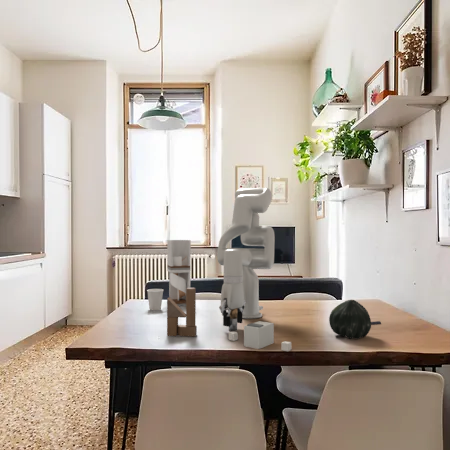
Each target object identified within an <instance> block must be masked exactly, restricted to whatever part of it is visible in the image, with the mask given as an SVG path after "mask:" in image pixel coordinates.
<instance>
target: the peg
mask: <svg viewBox="0 0 450 450" xmlns="http://www.w3.org/2000/svg"><path fill="white" fill-rule="evenodd" d="M229 316H230V317H231V326H230V327H228V331H229V332H237V331H238V323H237V318H238V308H236V309H232V310H231V312H230V315H229Z"/></svg>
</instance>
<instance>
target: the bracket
mask: <svg viewBox="0 0 450 450" xmlns="http://www.w3.org/2000/svg"><path fill="white" fill-rule="evenodd" d="M373 325H374V326H375V325H382V321H381V320H378V321H371V326H373Z"/></svg>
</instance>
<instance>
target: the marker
mask: <svg viewBox="0 0 450 450" xmlns="http://www.w3.org/2000/svg"><path fill="white" fill-rule="evenodd" d="M280 343H281V345H280V346H281V349H280V350H281V351H284V352H290V351H292V341H286V340H285V341H282V342H280Z"/></svg>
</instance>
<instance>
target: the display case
mask: <svg viewBox="0 0 450 450" xmlns="http://www.w3.org/2000/svg"><path fill="white" fill-rule="evenodd" d="M191 242H192V241H191V240H190V239H167V244H166V245H167V246H166V247H167V248H166V249H167V251H166V253H167V254H166V255H167V256H166V257H167V259H166V266H167V267H166V271H167V272H168V274H169V275H168V276H169V277H168V286H169V287H168V288H169V290H168V293H169V294H168V295H169V297H170V298H171V299H172V300H173V301H174V302H175V303H176V304H177V305H178V306H179V305H186V288H191V269H192V268H191V265H192V264H191V258H192V257H191V252H192V251H191V250H192V245H191V244H192V243H191ZM169 297H168V298H169ZM179 307H180V306H179Z"/></svg>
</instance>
